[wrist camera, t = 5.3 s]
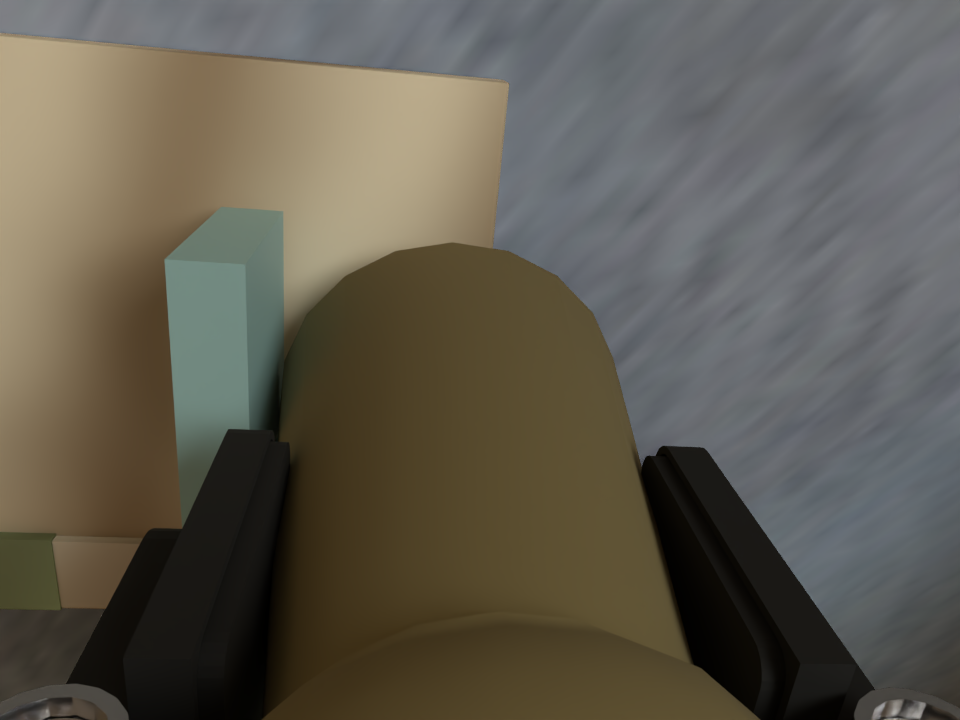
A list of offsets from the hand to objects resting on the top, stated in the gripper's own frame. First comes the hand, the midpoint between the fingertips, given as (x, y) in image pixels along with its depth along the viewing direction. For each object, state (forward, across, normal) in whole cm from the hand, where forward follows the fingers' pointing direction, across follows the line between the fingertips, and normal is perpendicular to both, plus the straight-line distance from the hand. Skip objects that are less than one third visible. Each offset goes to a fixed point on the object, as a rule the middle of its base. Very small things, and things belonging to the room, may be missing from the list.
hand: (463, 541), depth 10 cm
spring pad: (+5, +3, +1) cm, 6 cm away
